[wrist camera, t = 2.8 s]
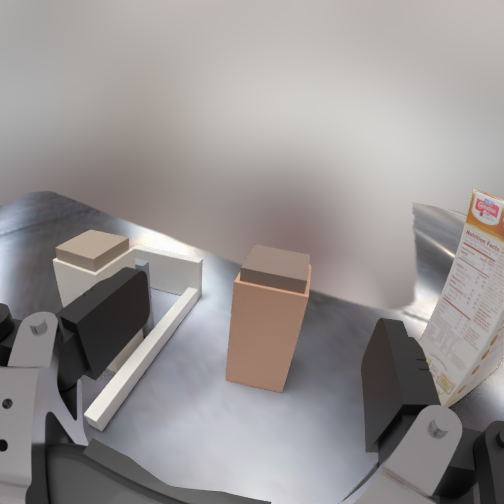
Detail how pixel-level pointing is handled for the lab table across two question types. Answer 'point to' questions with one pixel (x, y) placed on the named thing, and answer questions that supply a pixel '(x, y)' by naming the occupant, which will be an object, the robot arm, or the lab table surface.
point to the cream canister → (94, 272)
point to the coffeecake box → (470, 306)
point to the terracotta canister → (267, 316)
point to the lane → (166, 279)
